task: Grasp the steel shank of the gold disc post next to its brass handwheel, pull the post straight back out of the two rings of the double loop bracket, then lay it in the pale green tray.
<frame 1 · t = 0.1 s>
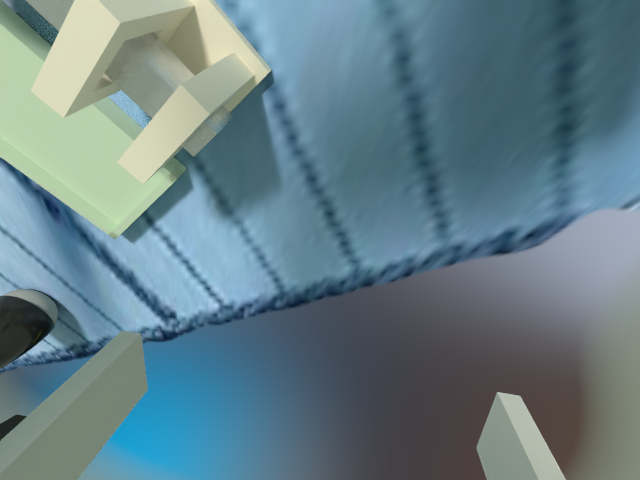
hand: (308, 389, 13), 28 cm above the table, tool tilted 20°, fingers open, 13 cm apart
tray: (37, 106, 38), on the table
pump dispenser: (42, 298, 64), on the table
double loop bracket: (190, 64, 33), on the table
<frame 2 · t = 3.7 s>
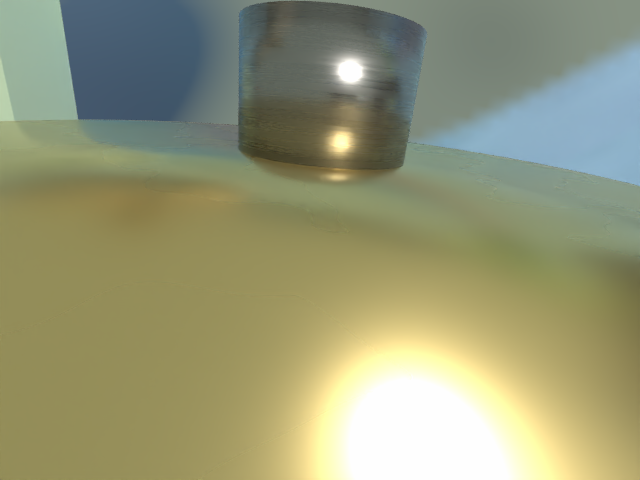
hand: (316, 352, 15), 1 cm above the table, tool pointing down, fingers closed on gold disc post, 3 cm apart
gold disc post: (335, 190, 13), on the table, touching double loop bracket, gripper
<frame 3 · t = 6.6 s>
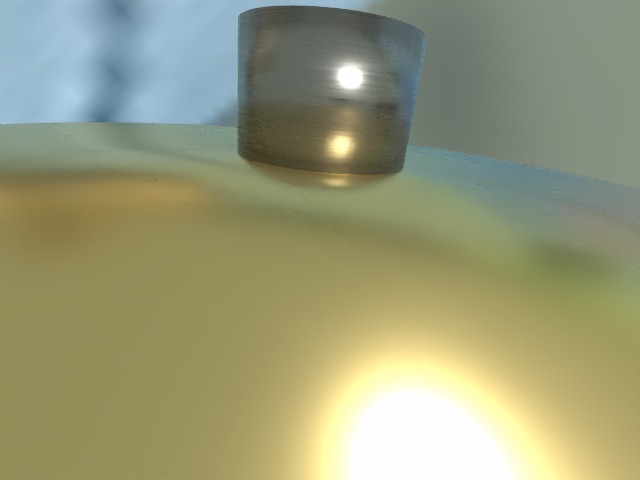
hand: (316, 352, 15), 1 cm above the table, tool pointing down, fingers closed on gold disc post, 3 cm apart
gold disc post: (335, 192, 13), on the table, touching gripper
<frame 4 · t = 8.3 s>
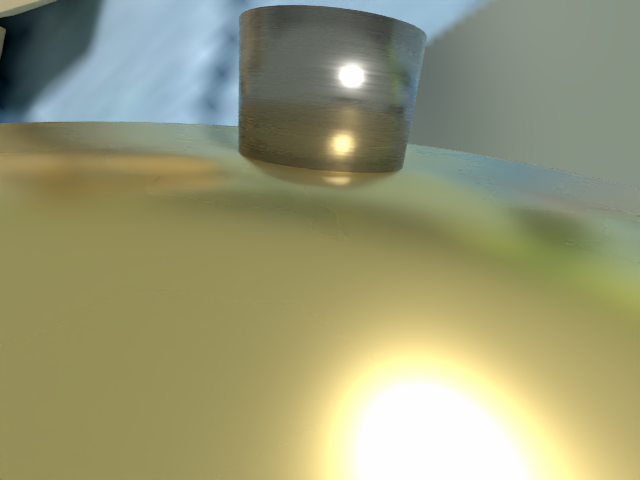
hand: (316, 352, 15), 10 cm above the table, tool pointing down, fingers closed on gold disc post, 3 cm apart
gold disc post: (335, 191, 13), point 10 cm above the table, touching gripper
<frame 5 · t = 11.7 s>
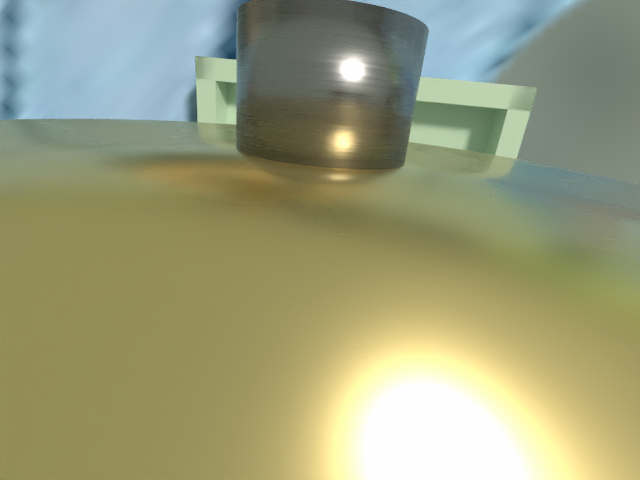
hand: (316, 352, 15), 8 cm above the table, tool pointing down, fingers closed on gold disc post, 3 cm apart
gold disc post: (335, 190, 12), point 8 cm above the table, touching gripper
tray: (329, 319, 24), on the table
when the fingers open (2 cm above the table, at t = 12.9 s): gold disc post stays where it is, resting on tray.
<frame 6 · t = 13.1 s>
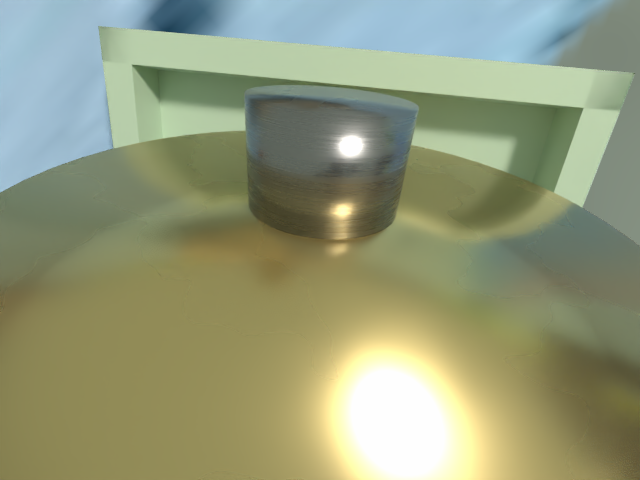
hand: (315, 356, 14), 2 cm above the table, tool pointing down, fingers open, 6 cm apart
gold disc post: (338, 186, 13), point 1 cm above the table, tilted 9°, touching tray
tray: (314, 385, 18), on the table
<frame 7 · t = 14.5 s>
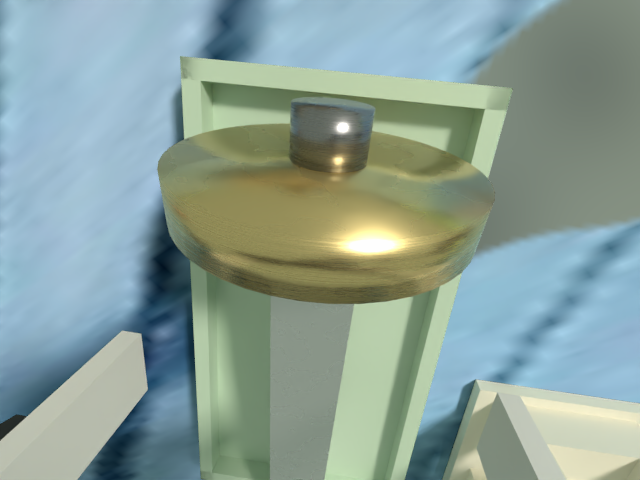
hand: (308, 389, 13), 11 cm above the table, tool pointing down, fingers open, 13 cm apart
gold disc post: (334, 162, 19), point 1 cm above the table, tilted 9°, touching tray
tray: (317, 316, 24), on the table
double loop bracket: (535, 445, 26), on the table
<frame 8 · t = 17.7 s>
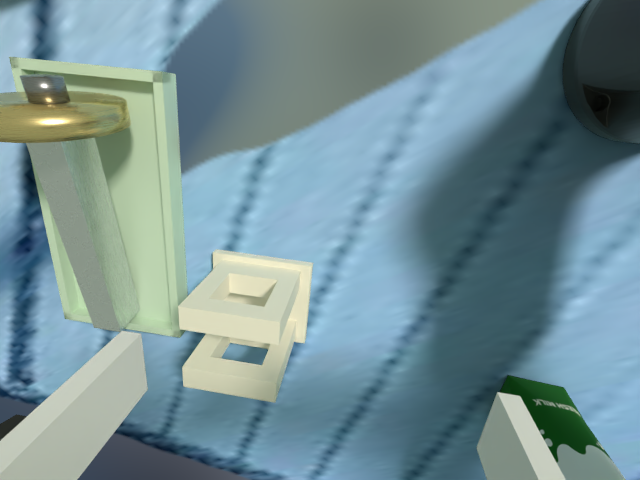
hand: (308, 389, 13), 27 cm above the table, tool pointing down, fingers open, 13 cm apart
gold disc post: (102, 113, 36), point 1 cm above the table, tilted 9°, touching tray
tray: (120, 209, 41), on the table
milk carton: (523, 400, 44), on the table
double loop bracket: (262, 295, 43), on the table
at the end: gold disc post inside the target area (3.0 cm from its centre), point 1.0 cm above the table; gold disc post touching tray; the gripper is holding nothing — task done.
